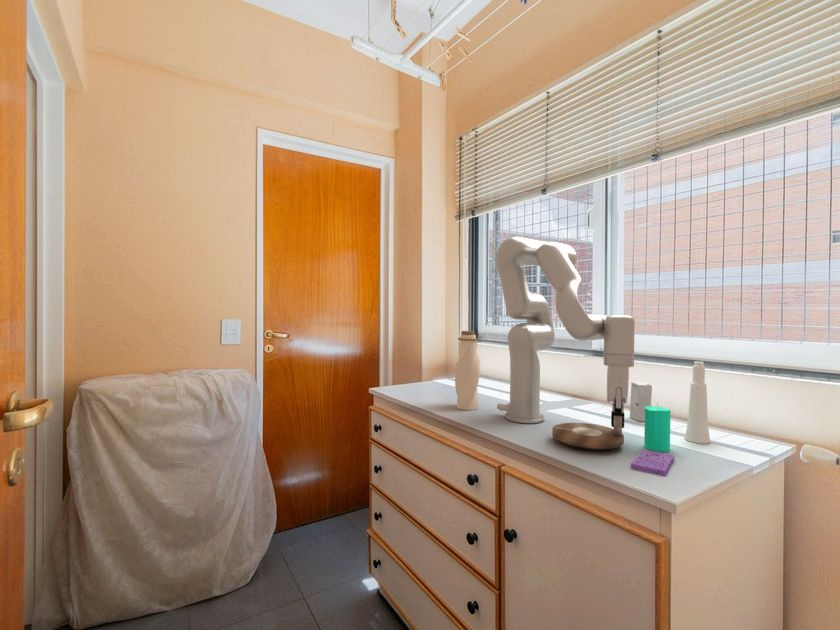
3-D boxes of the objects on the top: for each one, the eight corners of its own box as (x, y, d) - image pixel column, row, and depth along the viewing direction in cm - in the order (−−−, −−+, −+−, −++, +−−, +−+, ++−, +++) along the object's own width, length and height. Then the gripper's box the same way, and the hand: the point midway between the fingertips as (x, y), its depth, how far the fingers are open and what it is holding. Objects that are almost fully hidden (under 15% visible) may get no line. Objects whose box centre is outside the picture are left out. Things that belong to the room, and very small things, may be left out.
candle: (673, 452, 107) (674, 405, 107) (648, 450, 108) (648, 404, 108) (665, 445, 113) (665, 400, 113) (640, 443, 114) (641, 399, 114)
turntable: (548, 442, 109) (548, 417, 109) (556, 425, 126) (556, 403, 126) (625, 453, 102) (625, 426, 102) (622, 433, 118) (623, 409, 118)
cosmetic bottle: (681, 439, 117) (682, 361, 117) (688, 435, 121) (690, 360, 121) (706, 445, 113) (708, 364, 112) (713, 441, 117) (715, 362, 116)
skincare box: (629, 417, 142) (629, 381, 142) (642, 417, 142) (643, 381, 142) (637, 421, 136) (638, 384, 136) (651, 422, 136) (652, 384, 135)
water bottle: (455, 403, 160) (456, 330, 159) (479, 404, 158) (480, 330, 158) (454, 410, 149) (454, 331, 149) (479, 411, 148) (480, 332, 148)
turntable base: (561, 446, 111) (561, 441, 111) (565, 434, 122) (565, 429, 122) (611, 453, 106) (611, 447, 106) (611, 439, 117) (611, 434, 117)
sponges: (674, 462, 102) (674, 454, 102) (665, 478, 92) (665, 470, 92) (642, 455, 106) (642, 448, 106) (630, 470, 96) (630, 462, 96)
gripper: (603, 356, 123) (602, 418, 123) (603, 362, 109) (602, 432, 110) (632, 358, 120) (631, 421, 120) (635, 364, 106) (634, 436, 107)
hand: (617, 426), depth 115 cm, fingers closed
